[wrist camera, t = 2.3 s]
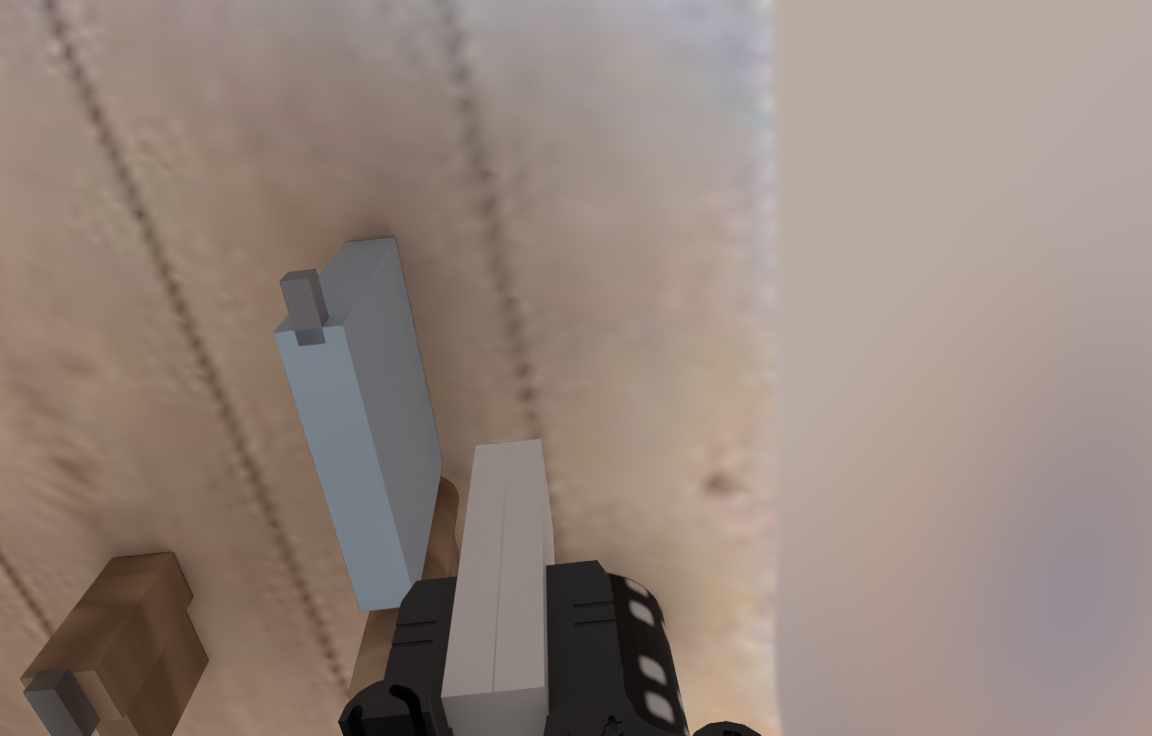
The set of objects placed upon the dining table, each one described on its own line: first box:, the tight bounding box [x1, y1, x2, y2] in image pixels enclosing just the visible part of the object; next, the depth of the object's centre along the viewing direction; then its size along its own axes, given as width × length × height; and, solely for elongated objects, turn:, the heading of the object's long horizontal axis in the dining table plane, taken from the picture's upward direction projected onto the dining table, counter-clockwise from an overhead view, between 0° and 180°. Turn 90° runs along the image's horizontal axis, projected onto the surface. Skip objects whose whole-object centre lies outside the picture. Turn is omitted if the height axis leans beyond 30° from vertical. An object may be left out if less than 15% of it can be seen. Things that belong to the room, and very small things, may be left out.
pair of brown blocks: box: [20, 477, 460, 736], centre depth 31 cm, size 17×10×11 cm, turn 95°
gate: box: [274, 237, 443, 612], centre depth 26 cm, size 12×2×9 cm, turn 5°
